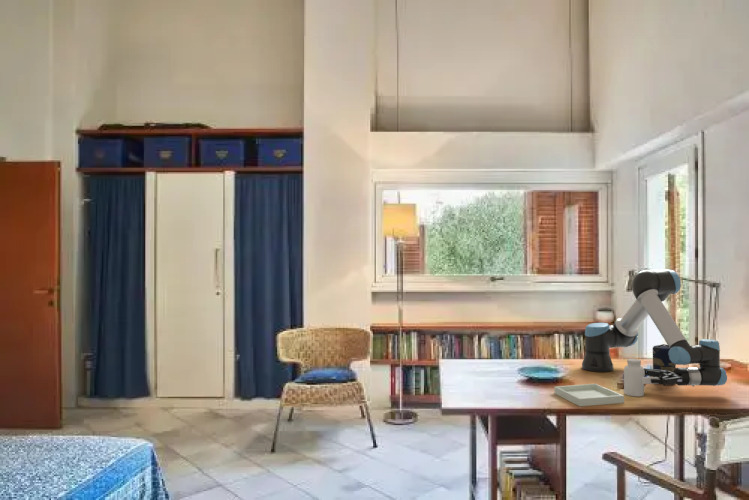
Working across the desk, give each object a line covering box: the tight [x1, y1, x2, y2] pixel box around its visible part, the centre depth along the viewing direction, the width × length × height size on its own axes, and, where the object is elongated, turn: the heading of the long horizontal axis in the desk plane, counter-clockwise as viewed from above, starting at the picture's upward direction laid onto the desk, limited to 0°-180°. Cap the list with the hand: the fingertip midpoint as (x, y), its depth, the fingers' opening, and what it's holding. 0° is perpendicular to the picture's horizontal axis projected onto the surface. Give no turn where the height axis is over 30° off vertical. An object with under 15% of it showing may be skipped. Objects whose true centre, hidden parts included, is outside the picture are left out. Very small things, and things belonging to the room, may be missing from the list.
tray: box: [553, 383, 625, 407], centre depth 237 cm, size 20×20×3 cm
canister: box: [652, 343, 677, 372], centre depth 260 cm, size 10×10×18 cm
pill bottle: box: [623, 358, 645, 398], centre depth 241 cm, size 8×8×15 cm
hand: (635, 376), depth 241 cm, fingers open, 13 cm apart
